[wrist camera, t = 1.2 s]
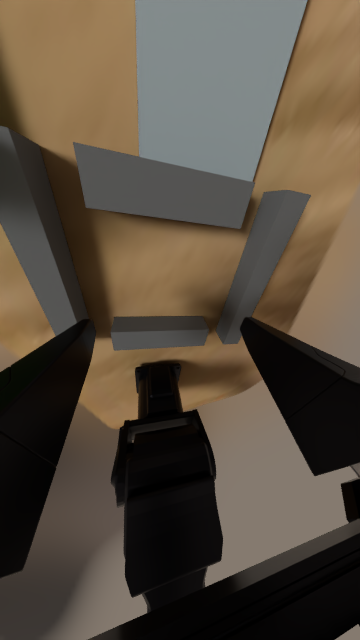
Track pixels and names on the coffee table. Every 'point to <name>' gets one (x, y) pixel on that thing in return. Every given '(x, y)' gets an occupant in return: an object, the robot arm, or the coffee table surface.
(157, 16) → the felt pad
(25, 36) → the coffee table surface
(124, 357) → the coffee table surface
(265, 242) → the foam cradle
